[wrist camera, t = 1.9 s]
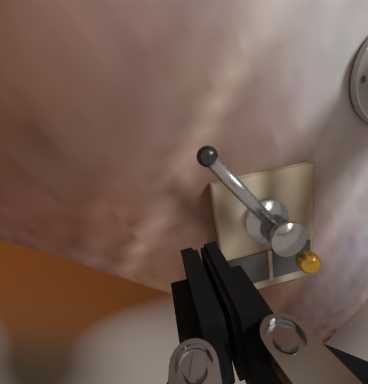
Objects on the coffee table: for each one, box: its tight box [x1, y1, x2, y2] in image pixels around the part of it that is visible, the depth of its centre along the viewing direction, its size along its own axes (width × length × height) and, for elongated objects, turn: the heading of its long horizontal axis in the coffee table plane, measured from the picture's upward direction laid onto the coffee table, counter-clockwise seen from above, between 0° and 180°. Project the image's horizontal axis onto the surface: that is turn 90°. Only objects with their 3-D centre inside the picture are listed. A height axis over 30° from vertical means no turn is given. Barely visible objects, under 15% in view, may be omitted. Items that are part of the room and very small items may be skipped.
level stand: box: [209, 161, 315, 289], centre depth 29 cm, size 14×18×2 cm
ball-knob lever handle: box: [197, 146, 321, 273], centre depth 25 cm, size 23×6×4 cm, turn 45°
